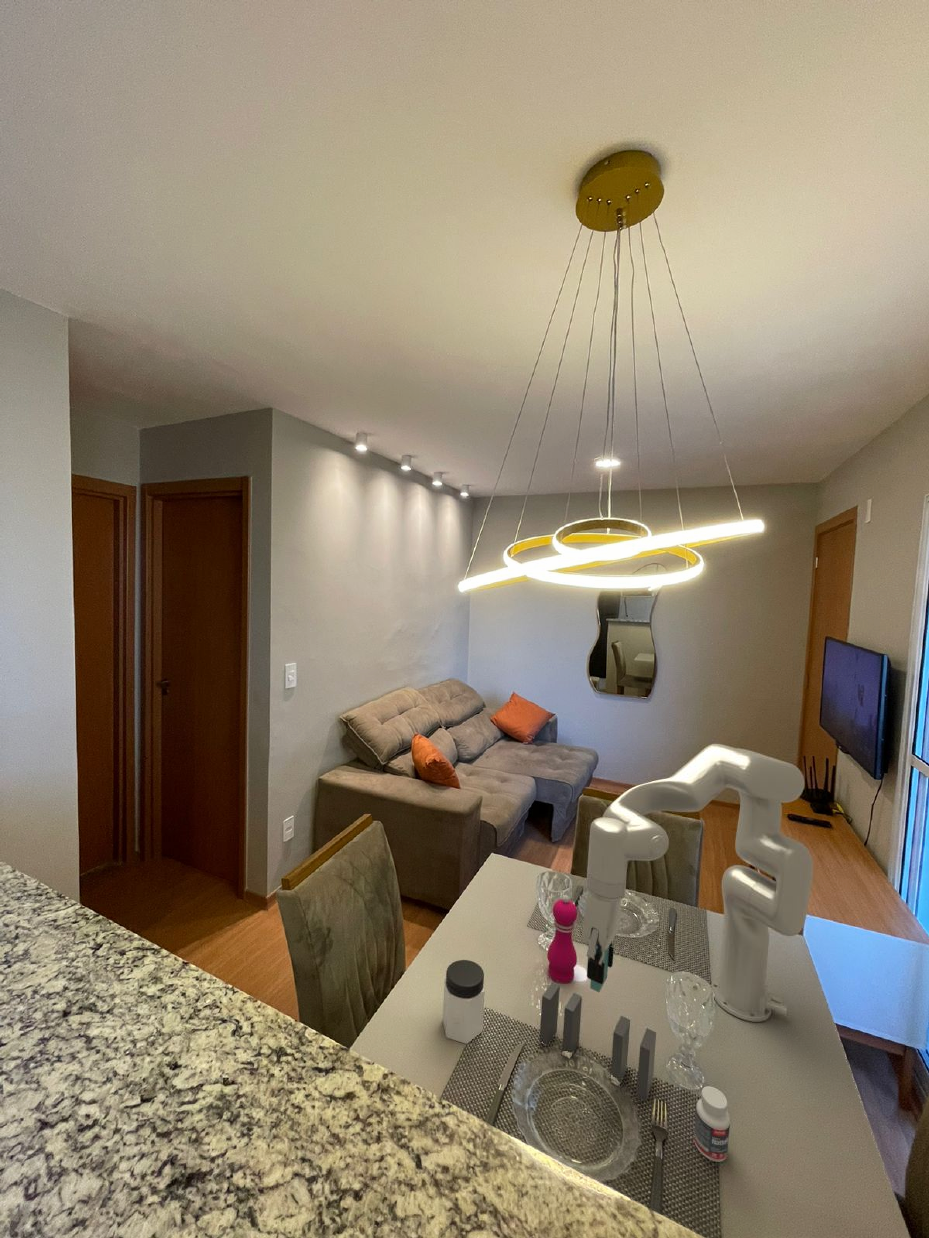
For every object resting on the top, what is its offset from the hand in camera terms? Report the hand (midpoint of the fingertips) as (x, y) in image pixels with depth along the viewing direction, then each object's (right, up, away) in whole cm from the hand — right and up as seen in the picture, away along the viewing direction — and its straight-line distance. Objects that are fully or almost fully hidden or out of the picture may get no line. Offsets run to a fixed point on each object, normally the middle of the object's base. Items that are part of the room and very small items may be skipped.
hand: (599, 970), depth 103 cm
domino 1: (-9, -18, +6) cm, 21 cm away
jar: (-28, -17, +7) cm, 33 cm away
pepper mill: (-3, -18, +25) cm, 31 cm away
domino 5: (+7, -19, -5) cm, 21 cm away
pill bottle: (+15, -20, -15) cm, 29 cm away
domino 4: (+3, -19, -2) cm, 19 cm away
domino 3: (0, -2, 0) cm, 2 cm away
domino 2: (-5, -18, +3) cm, 19 cm away
